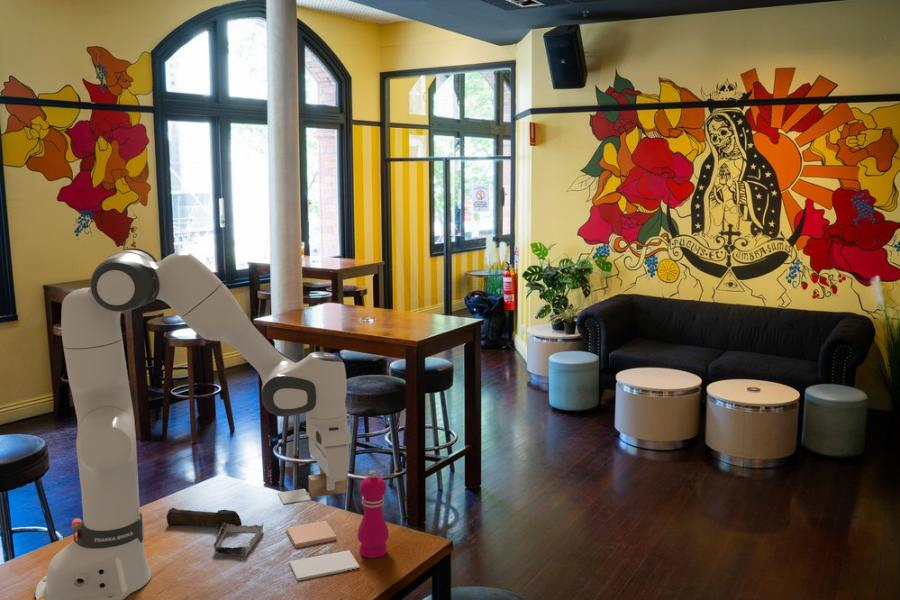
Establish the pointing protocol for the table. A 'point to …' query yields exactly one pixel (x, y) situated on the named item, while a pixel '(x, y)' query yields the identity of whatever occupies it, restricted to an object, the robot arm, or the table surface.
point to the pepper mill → (373, 518)
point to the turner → (312, 490)
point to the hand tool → (203, 518)
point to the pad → (323, 565)
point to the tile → (310, 534)
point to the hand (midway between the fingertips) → (327, 485)
